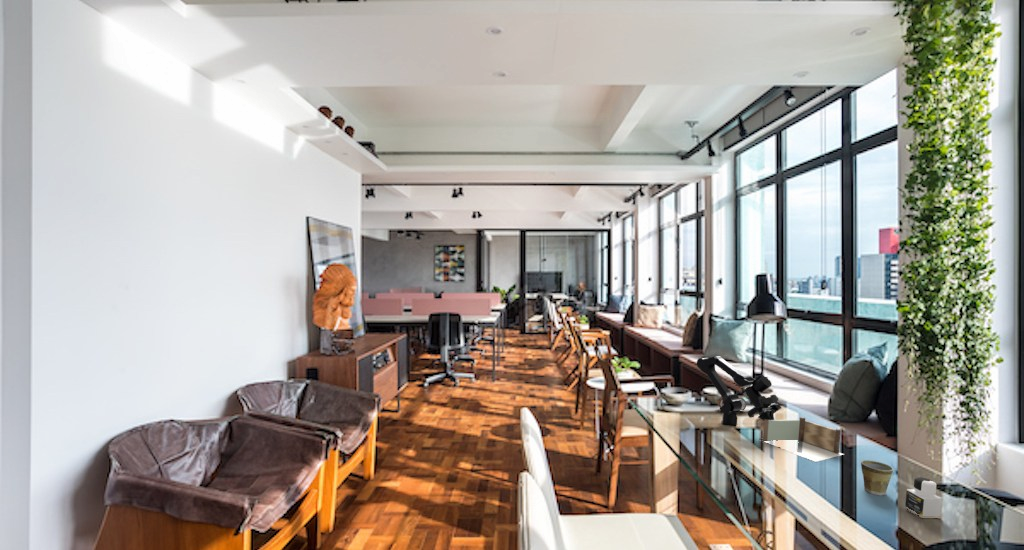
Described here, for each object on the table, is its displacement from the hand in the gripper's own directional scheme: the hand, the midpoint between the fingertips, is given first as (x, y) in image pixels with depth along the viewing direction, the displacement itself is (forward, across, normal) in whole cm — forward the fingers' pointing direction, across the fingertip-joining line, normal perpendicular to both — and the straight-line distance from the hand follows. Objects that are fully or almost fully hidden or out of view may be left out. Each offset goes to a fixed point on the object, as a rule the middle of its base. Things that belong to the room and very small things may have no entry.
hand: (775, 426), depth 250 cm
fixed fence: (+14, +12, -5) cm, 19 cm away
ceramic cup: (+41, -13, -30) cm, 53 cm away
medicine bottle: (+53, -18, -43) cm, 71 cm away
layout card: (+12, +3, -3) cm, 13 cm away
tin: (-25, +23, +34) cm, 48 cm away
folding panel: (+6, +1, +3) cm, 7 cm away
